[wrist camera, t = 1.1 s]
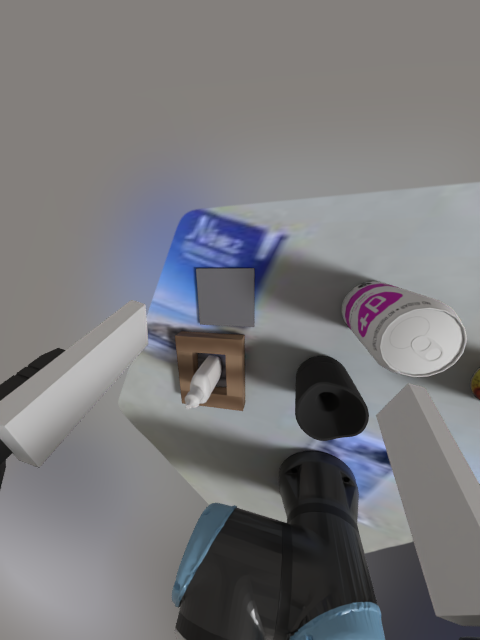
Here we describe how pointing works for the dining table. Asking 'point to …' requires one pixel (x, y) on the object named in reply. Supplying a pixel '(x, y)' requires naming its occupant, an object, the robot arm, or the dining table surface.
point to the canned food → (476, 384)
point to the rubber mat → (226, 296)
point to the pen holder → (328, 400)
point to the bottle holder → (213, 344)
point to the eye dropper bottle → (204, 382)
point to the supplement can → (404, 329)
